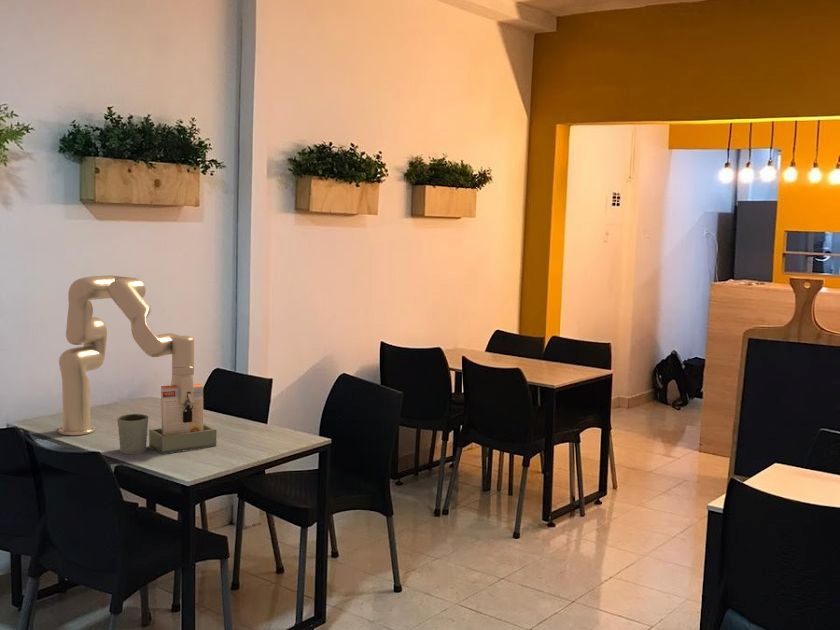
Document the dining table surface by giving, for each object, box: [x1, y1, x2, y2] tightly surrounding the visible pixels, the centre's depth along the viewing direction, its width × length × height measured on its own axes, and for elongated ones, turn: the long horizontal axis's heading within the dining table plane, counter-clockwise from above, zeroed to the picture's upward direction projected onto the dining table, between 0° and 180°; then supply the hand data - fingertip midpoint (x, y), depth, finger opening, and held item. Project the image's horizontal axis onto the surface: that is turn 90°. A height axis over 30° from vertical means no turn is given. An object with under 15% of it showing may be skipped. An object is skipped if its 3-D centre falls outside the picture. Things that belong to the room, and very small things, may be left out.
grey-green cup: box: [116, 413, 149, 455], centre depth 294 cm, size 10×10×12 cm
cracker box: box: [160, 383, 204, 436], centre depth 301 cm, size 14×6×21 cm, turn 113°
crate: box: [148, 422, 217, 455], centre depth 302 cm, size 12×20×6 cm, turn 129°
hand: (182, 419), depth 301 cm, fingers open, 7 cm apart
